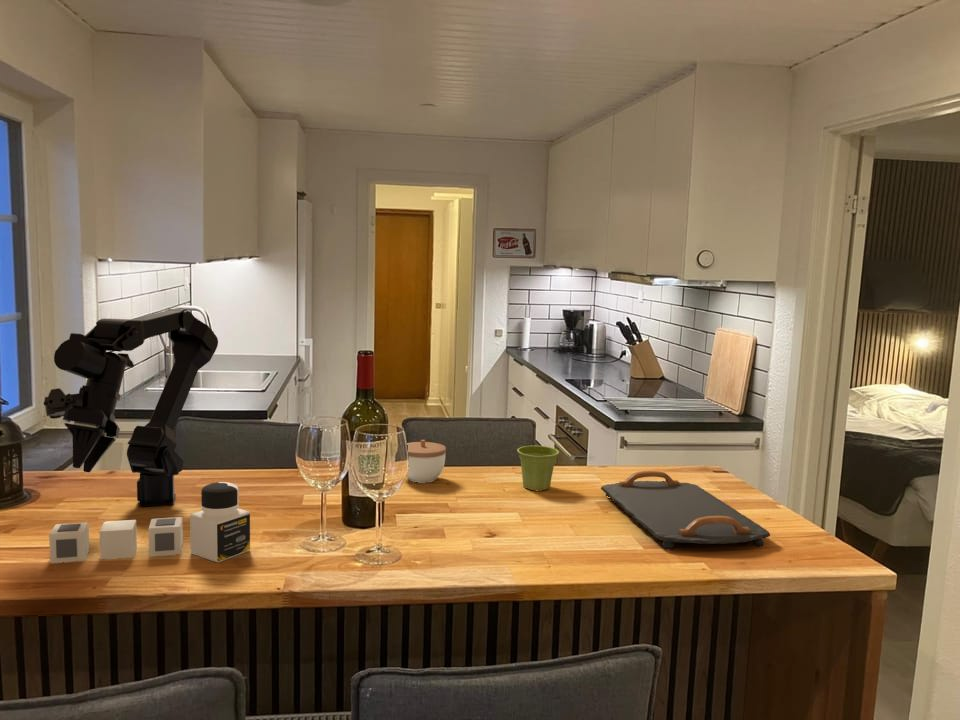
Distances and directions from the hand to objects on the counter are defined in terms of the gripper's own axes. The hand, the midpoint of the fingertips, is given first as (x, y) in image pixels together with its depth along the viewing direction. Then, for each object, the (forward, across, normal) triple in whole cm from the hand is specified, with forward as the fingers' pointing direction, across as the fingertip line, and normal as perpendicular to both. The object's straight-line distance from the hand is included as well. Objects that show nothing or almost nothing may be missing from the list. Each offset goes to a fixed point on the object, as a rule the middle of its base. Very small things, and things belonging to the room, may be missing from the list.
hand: (81, 470), depth 142 cm
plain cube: (+13, +5, +10) cm, 17 cm away
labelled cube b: (+15, +6, +3) cm, 16 cm away
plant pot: (-12, -18, +91) cm, 94 cm away
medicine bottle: (+11, +8, +26) cm, 30 cm away
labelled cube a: (+12, +5, +18) cm, 22 cm away
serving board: (-7, +6, +114) cm, 114 cm away
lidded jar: (-10, -28, +66) cm, 73 cm away
